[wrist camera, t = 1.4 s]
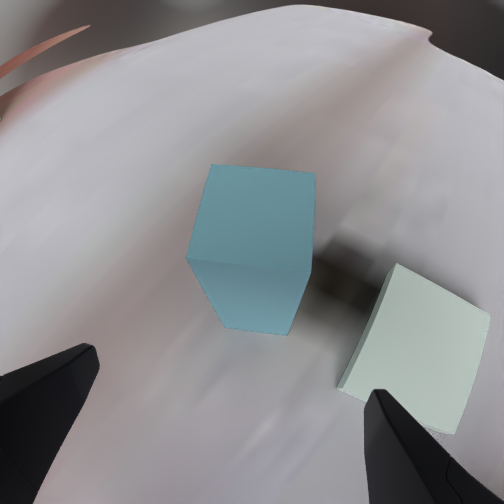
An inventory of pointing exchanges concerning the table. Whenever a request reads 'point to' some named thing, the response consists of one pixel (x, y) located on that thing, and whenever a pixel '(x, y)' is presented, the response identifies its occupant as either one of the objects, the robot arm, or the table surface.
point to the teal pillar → (254, 245)
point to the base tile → (419, 350)
